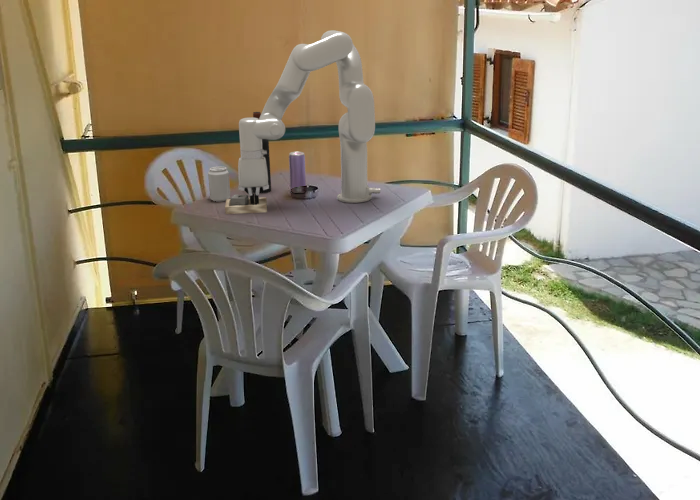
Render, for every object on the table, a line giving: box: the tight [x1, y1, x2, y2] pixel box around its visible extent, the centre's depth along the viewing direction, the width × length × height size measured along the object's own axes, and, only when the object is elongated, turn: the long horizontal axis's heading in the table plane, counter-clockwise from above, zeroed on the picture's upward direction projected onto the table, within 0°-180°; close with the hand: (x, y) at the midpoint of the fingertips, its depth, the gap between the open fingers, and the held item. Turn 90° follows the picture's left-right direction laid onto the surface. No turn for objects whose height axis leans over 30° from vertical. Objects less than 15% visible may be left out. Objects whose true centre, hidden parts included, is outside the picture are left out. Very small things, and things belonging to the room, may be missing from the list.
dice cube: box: [230, 194, 250, 206], centre depth 254 cm, size 5×5×5 cm
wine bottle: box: [251, 111, 272, 194], centre depth 274 cm, size 8×8×30 cm
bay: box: [224, 196, 268, 215], centre depth 256 cm, size 14×10×2 cm
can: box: [207, 165, 231, 203], centre depth 266 cm, size 8×8×12 cm
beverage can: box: [288, 151, 307, 192], centre depth 274 cm, size 6×6×15 cm
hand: (254, 205), depth 256 cm, fingers closed
